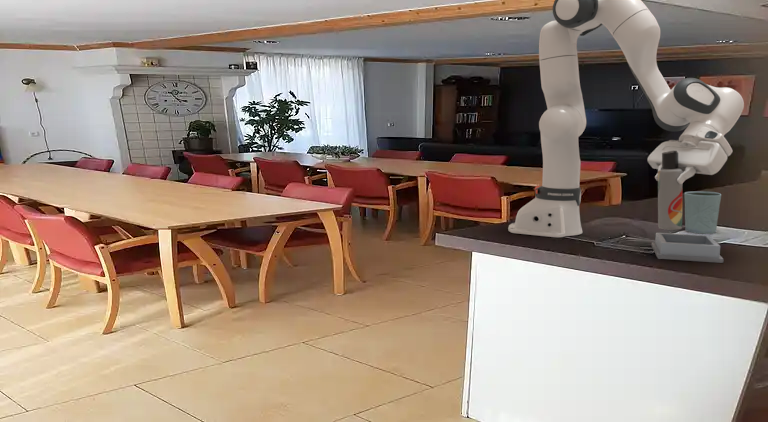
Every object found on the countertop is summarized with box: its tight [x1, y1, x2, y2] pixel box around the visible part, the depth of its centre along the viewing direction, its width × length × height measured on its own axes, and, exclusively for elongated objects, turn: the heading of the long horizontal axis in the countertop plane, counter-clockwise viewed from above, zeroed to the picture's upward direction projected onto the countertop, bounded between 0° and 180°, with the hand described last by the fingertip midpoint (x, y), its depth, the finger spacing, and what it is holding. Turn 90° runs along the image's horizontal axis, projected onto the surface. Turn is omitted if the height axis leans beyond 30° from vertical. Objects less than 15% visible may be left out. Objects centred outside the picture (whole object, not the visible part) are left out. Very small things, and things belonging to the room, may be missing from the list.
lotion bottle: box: [657, 151, 683, 231], centre depth 155 cm, size 6×6×20 cm
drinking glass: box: [683, 190, 722, 235], centre depth 188 cm, size 10×10×12 cm
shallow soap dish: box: [651, 232, 724, 264], centre depth 160 cm, size 15×15×4 cm
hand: (667, 181), depth 155 cm, fingers closed on lotion bottle, 5 cm apart
